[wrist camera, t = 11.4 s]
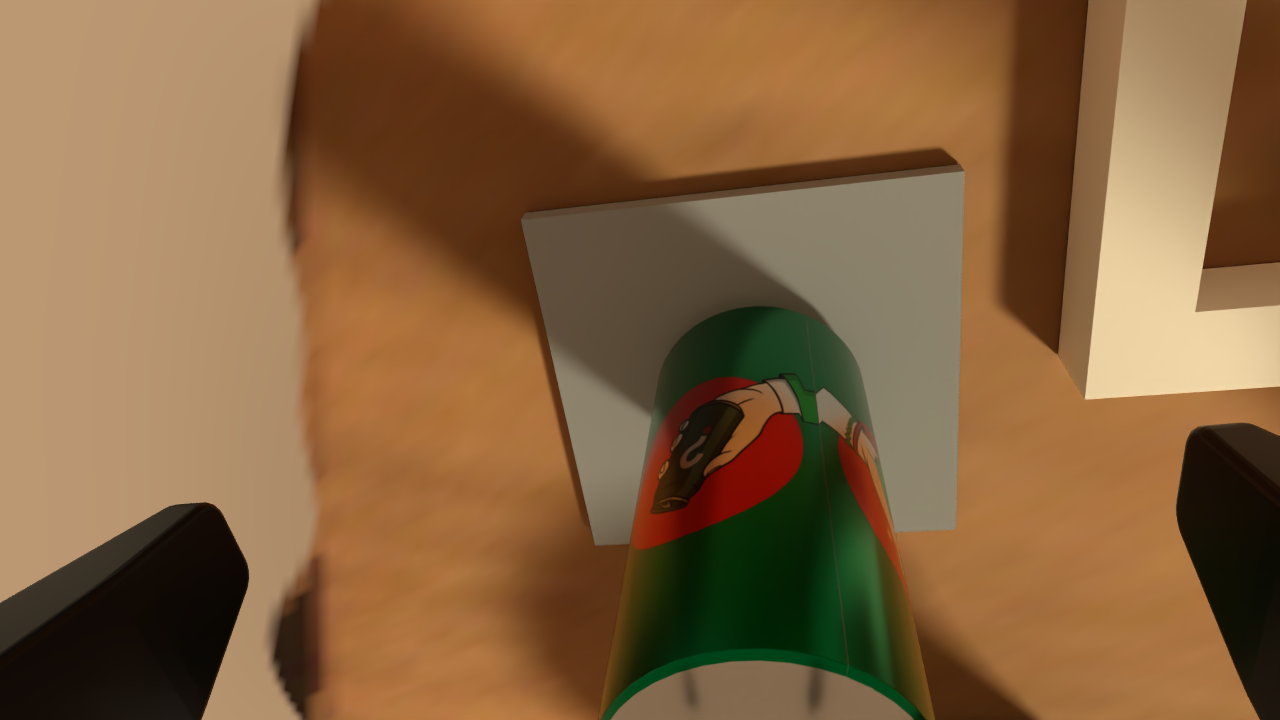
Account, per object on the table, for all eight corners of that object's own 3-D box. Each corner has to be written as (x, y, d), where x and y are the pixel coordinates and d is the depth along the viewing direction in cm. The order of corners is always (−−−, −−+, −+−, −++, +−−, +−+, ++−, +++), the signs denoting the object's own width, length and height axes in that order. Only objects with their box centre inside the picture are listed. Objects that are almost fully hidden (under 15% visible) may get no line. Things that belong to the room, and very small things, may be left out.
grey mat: (952, 517, 24) (955, 529, 24) (597, 534, 26) (595, 545, 26) (959, 164, 20) (964, 171, 19) (525, 212, 21) (520, 220, 21)
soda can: (629, 424, 23) (532, 879, 13) (707, 263, 21) (664, 667, 10) (803, 492, 24) (844, 984, 13) (899, 343, 21) (1041, 806, 11)
